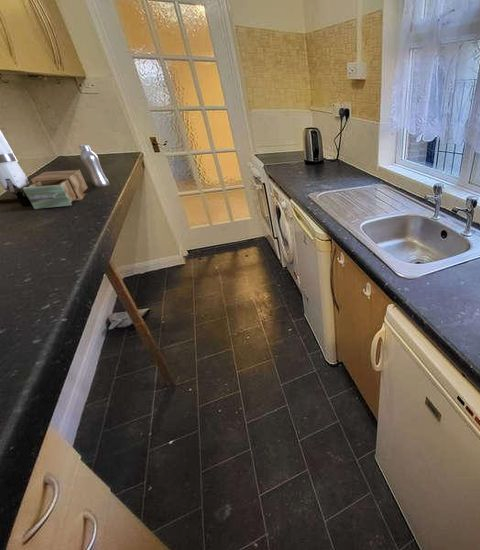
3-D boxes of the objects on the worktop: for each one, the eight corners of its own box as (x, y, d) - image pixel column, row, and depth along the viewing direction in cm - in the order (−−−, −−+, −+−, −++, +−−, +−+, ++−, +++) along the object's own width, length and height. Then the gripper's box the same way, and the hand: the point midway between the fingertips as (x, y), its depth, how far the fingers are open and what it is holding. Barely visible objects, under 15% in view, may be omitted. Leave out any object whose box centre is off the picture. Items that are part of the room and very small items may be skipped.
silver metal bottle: (96, 191, 143) (76, 146, 133) (94, 188, 147) (73, 145, 136) (113, 188, 147) (94, 145, 137) (109, 186, 151) (91, 143, 140)
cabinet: (81, 199, 131) (70, 176, 126) (44, 203, 126) (30, 179, 121) (89, 191, 142) (79, 169, 137) (55, 194, 137) (43, 172, 132)
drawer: (67, 208, 119) (56, 188, 114) (29, 212, 114) (16, 191, 110) (80, 196, 132) (70, 177, 128) (46, 199, 128) (35, 180, 123)
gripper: (-1, 155, 120) (25, 200, 129) (-23, 163, 107) (8, 211, 117) (24, 154, 123) (48, 198, 132) (5, 161, 110) (34, 209, 120)
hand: (29, 204), depth 125 cm, fingers closed on glue stick, 2 cm apart
